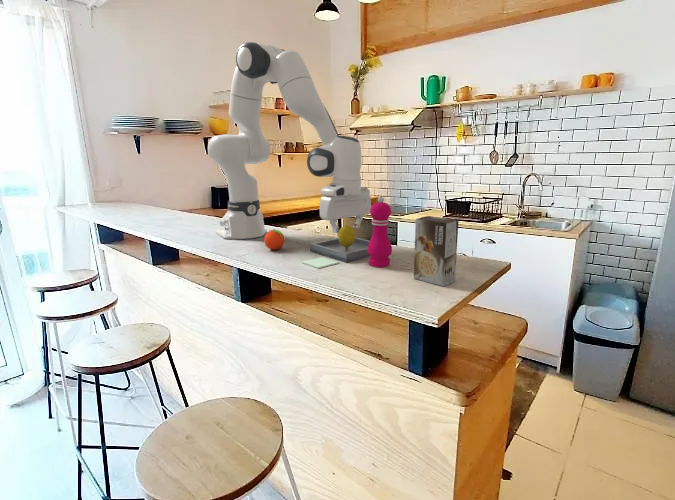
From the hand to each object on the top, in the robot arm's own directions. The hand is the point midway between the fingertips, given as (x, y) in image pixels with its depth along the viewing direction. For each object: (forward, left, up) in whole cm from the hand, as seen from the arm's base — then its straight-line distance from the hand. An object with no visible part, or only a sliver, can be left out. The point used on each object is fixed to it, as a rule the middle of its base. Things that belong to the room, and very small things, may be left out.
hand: (346, 230), depth 124 cm
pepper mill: (+18, -3, -7) cm, 19 cm away
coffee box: (+37, -3, -7) cm, 37 cm away
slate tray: (+1, 0, -7) cm, 7 cm away
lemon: (0, 0, -6) cm, 6 cm away
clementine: (-18, -16, -7) cm, 26 cm away
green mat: (+5, -15, -7) cm, 17 cm away
